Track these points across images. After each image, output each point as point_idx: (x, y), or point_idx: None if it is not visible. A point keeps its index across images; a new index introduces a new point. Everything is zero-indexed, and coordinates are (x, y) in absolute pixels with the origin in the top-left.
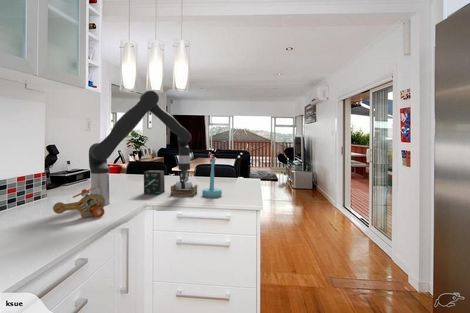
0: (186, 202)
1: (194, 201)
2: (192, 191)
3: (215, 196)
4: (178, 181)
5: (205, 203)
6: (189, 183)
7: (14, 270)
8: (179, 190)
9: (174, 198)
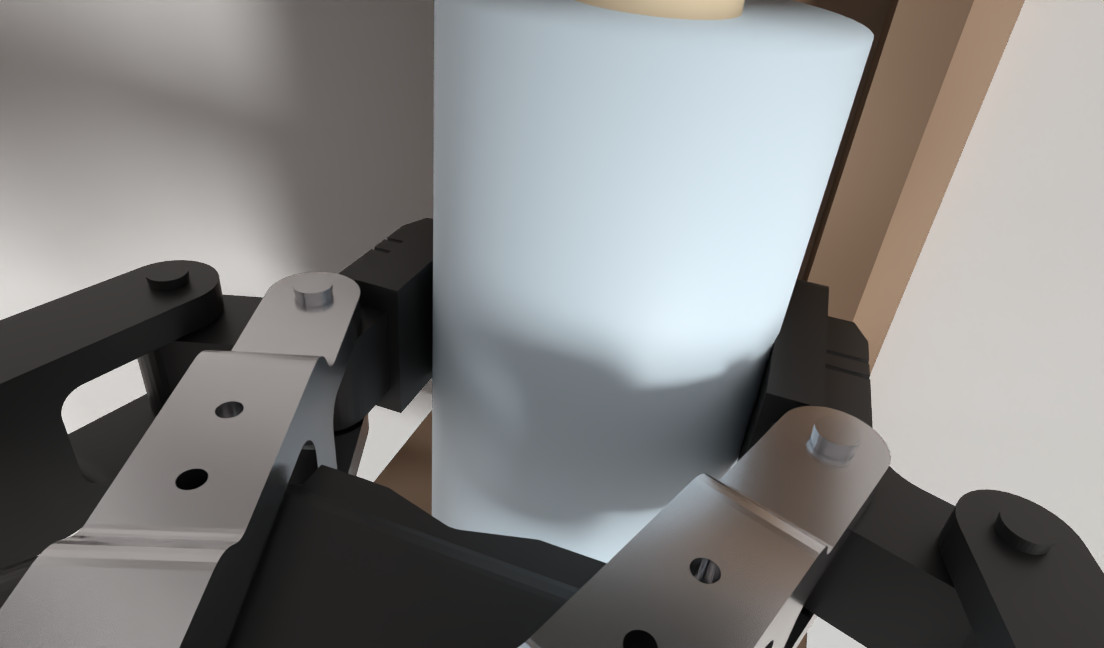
0: (15, 266)
1: (114, 378)
2: (410, 448)
3: None
4: (537, 151)
5: None
6: None
7: None
8: (876, 58)
9: (173, 5)
